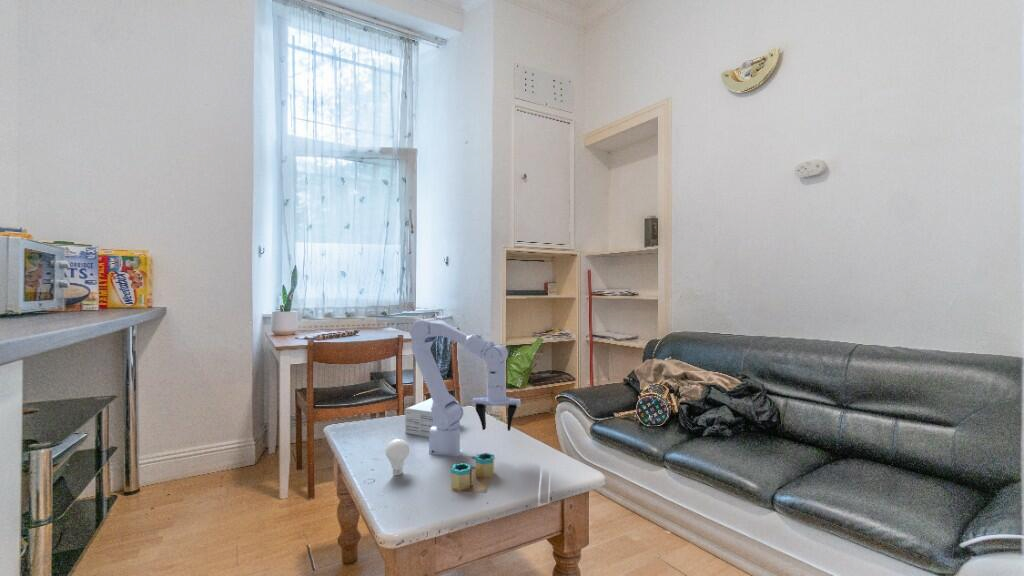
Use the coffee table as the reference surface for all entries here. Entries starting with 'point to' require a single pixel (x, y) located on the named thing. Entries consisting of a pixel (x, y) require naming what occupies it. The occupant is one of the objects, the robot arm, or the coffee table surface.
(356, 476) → the coffee table surface
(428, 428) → the supplement box
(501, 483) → the coffee table surface
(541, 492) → the coffee table surface
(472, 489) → the pin board
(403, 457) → the lightbulb
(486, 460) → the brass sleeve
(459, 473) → the seated sleeve
